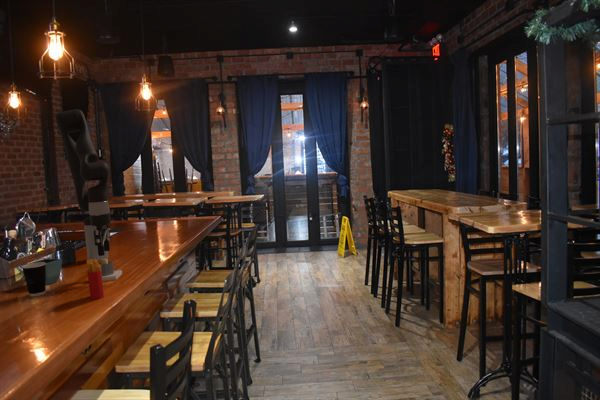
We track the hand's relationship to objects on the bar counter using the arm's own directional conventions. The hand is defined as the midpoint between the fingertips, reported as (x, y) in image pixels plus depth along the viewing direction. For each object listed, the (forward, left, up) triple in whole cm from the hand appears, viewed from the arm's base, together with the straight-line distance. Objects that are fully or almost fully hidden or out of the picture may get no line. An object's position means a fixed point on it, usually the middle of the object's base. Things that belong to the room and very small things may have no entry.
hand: (104, 253), depth 195 cm
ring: (0, 0, -8) cm, 8 cm away
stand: (0, 0, -10) cm, 10 cm away
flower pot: (0, -23, -10) cm, 25 cm away
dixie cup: (+16, -20, -10) cm, 28 cm away
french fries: (+28, +4, -10) cm, 30 cm away
